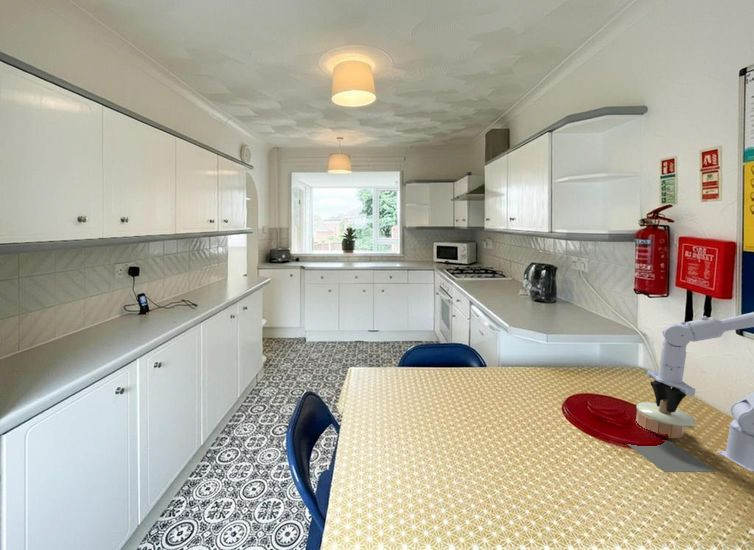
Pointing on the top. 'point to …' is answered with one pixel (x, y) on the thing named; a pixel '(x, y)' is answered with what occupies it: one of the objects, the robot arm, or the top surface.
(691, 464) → the mat
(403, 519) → the top surface
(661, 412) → the lid
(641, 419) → the bowl
